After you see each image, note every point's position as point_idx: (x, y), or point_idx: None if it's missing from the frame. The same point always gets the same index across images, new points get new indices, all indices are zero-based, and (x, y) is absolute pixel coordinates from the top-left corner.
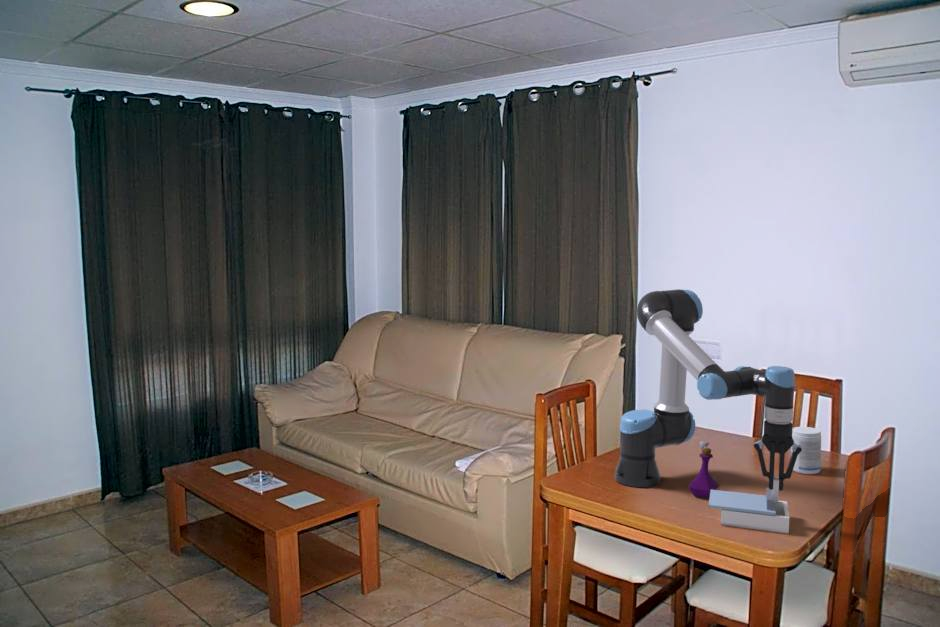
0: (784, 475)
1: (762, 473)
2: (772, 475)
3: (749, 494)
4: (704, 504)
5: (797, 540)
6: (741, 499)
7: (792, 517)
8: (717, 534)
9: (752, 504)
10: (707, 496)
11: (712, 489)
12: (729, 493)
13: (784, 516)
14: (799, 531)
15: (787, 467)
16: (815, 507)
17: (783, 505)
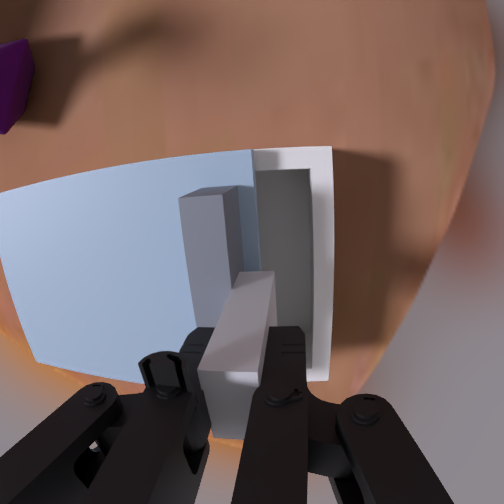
0: (314, 467)
1: (104, 455)
2: (191, 463)
3: (111, 180)
4: (24, 168)
5: (346, 379)
6: (94, 276)
7: (349, 155)
8: (118, 391)
9: (151, 328)
10: (16, 120)
11: (5, 111)
12: (39, 211)
13: (308, 370)
14: (366, 306)
15: (369, 497)
16: (431, 12)
17: (310, 182)
